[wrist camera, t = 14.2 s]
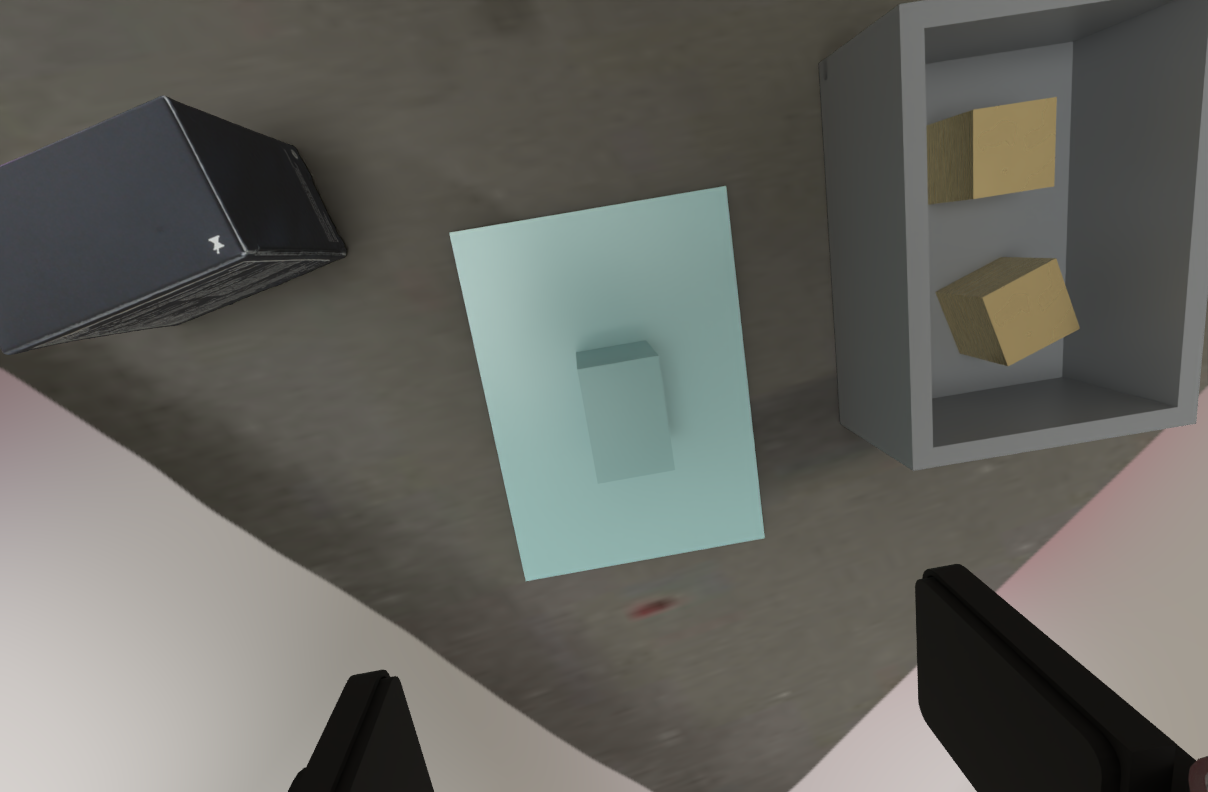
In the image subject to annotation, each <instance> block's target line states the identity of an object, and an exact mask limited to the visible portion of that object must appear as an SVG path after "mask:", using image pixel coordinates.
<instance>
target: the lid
mask: <svg viewBox="0 0 1208 792" xmlns="http://www.w3.org/2000/svg"><path fill="white" fill-rule="evenodd" d="M449 234H450V238H451V243H452V247H453V252H454V257H455V261H456V266H457V270H458V275H459V279H460V284H461V288H462V293H463V297H464V302H465V307H466V311H467V316H468V320H469V325H470V329H471V334H472V338H473V343H474V347H475V352H476V357H477V361H478V366H479V370H480V375H481V379H482V384H483V388H484V393H485V397H486V402H487V407H488V411H489V416H490V420H491V425H492V429H493V434H494V438H495V443H496V448H497V452H498V457H499V461H500V466H501V470H502V475H503V479H504V484H505V488H506V493H507V498H508V502H509V507H510V511H511V516H512V520H513V525H514V529H515V534H516V538H517V543H518V548H519V552H520V557H521V561H522V566H523V570H524V575H525V579H526V581H529V580H535V579H541V578H546V577H552V576H557V575H563V574H568V573H574V572H579V571H585V570H591V569H596V568H602V567H607V566H613V565H618V564H624V563H629V562H635V561H640V560H646V559H652V558H657V557H663V556H668V555H674V554H679V553H685V552H690V551H696V550H702V549H707V548H713V547H718V546H724V545H729V544H735V543H740V542H746V541H751V540H757V539H763V538H765V536H764V527H763V518H762V509H761V500H760V491H759V482H758V473H757V463H756V454H755V445H754V436H753V427H752V418H751V409H750V400H749V391H748V381H747V372H746V363H745V354H744V345H743V336H742V327H741V318H740V308H739V299H738V290H737V281H736V272H735V263H734V254H733V245H732V236H731V226H730V217H729V208H728V199H727V190H726V186H723V187H717V188H711V189H705V190H699V191H693V192H687V193H681V194H675V195H669V196H663V197H658V198H652V199H646V200H640V201H634V202H628V203H622V204H616V205H610V206H604V207H598V208H593V209H587V210H581V211H575V212H569V213H563V214H557V215H551V216H545V217H539V218H533V219H528V220H522V221H516V222H510V223H504V224H498V225H492V226H486V227H480V228H474V229H468V230H463V231H457V232H451V233H449Z"/></svg>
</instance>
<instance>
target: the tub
mask: <svg viewBox="0 0 1208 792" xmlns="http://www.w3.org/2000/svg"><path fill="white" fill-rule="evenodd" d="M819 78H820V95H821V112H822V128H823V145H824V162H825V179H826V196H827V212H828V229H829V246H830V263H831V280H832V296H833V313H834V330H835V347H836V364H837V380H838V397H839V414H840V424H841V425H843V426H844V427H846V428H847V429H849V430H850V431H852V432H854V433H855V434H857V435H858V436H860V437H861V438H863V439H864V440H866V441H868V442H869V443H871V444H872V445H874V446H875V447H877V448H878V449H880V450H882V451H883V452H885V453H886V454H888V455H889V456H891V457H892V458H894V459H896V460H897V461H899V462H900V463H902V464H903V465H905V466H906V467H908V468H910V469H911V470H913V471H914V470H920V469H926V468H932V467H938V466H944V465H950V464H956V463H962V462H968V461H974V460H980V459H986V458H992V457H998V456H1004V455H1010V454H1016V453H1022V452H1028V451H1034V450H1040V449H1046V448H1052V447H1058V446H1064V445H1070V444H1076V443H1082V442H1088V441H1094V440H1100V439H1106V438H1112V437H1118V436H1124V435H1130V434H1136V433H1142V432H1148V431H1154V430H1160V429H1166V428H1172V427H1178V426H1184V425H1190V424H1196V418H1197V406H1198V396H1199V385H1200V374H1201V362H1202V351H1203V340H1204V329H1205V318H1206V307H1207V295H1208V0H924V1H917V2H910V3H904V4H899V5H897V6H896V7H895V8H893V9H892V10H891V11H889V12H888V13H887V14H885V15H884V16H882V17H881V18H880V19H878V20H877V21H876V22H874V23H873V24H872V25H870V26H869V27H867V28H866V29H865V30H863V31H862V32H861V33H859V34H858V35H857V36H855V37H854V38H852V39H851V40H850V41H848V42H847V43H846V44H844V45H843V46H841V47H840V48H839V49H837V50H836V51H835V52H833V53H832V54H831V55H829V56H828V57H826V58H825V59H824V60H822V61H821V62H820V63H819ZM1052 97H1057V108H1056V144H1055V181H1054V187H1047V188H1041V189H1035V190H1028V191H1022V192H1016V193H1009V194H1003V195H996V196H990V197H984V198H977V199H970V200H962V201H954V202H945V203H937V204H929V205H928V179H927V131H926V126H927V125H930V124H932V123H935V122H938V121H941V120H944V119H947V118H950V117H953V116H956V115H959V114H962V113H965V112H968V111H971V110H974V109H981V108H987V107H994V106H1000V105H1007V104H1013V103H1020V102H1026V101H1033V100H1039V99H1046V98H1052ZM999 257H1023V258H1056V259H1057V262H1058V265H1059V268H1060V271H1061V274H1062V277H1063V280H1064V283H1065V286H1066V289H1067V292H1068V295H1069V297H1070V300H1071V303H1072V306H1073V309H1074V312H1075V315H1076V318H1077V321H1078V324H1079V327H1080V329H1079V330H1077V331H1075V332H1073V333H1071V334H1069V335H1067V336H1065V337H1063V338H1061V339H1059V340H1058V341H1056V342H1054V343H1052V344H1050V345H1048V346H1046V347H1044V348H1042V349H1040V350H1038V351H1037V352H1035V353H1033V354H1031V355H1029V356H1027V357H1025V358H1023V359H1021V360H1019V361H1018V362H1016V363H1014V364H1012V365H1010V366H1005V365H1001V364H997V363H993V362H990V361H986V360H982V359H979V358H975V357H971V356H967V355H964V354H960V353H959V351H958V348H957V346H956V343H955V341H954V338H953V336H952V333H951V331H950V328H949V326H948V323H947V321H946V318H945V316H944V313H943V311H942V308H941V305H940V303H939V300H938V298H937V295H936V293H935V292H936V291H938V290H940V289H942V288H944V287H946V286H947V285H949V284H951V283H953V282H955V281H957V280H959V279H960V278H962V277H964V276H966V275H968V274H970V273H972V272H973V271H975V270H977V269H979V268H981V267H983V266H985V265H986V264H988V263H990V262H992V261H994V260H996V259H998V258H999Z"/></svg>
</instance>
